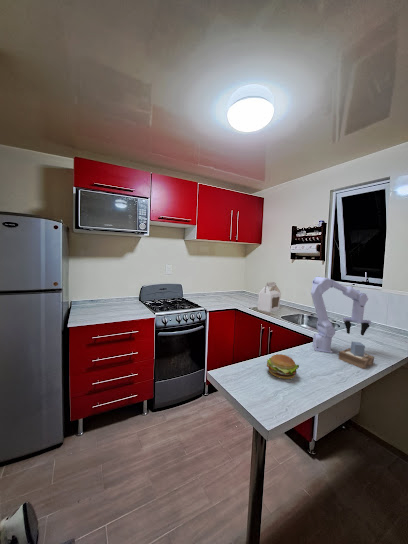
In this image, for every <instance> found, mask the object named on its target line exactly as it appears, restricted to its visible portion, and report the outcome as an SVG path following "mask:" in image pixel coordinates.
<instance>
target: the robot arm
mask: <svg viewBox="0 0 408 544" xmlns="http://www.w3.org/2000/svg"><path fill="white" fill-rule="evenodd" d="M311 284H312V285H311V292H310V296H311V298H312V302H313V305H314V309H315V313H316V316H317V321H316V330H317V331H318V333H314V334H313V338H312V339H313V340H312V347H313V349H314V350H315V351H316V352H324V353H329V354H333V353H334V352H333V351H332V349H331V348H332V339H333V337H334V336H335V334H336V329H335V327H334V326H333V323H332V322H331V321H330V319H329V317H328V316H329V315H328V313H327V310H326V305H325V302H324V297H323V294H324V293H326V292H327V291H328V290H329V289H330V288H331V289H332V288H333V289H336V290H337V291H340V292H342V295H343V296H346V297H347V298H350V299H351V300H352V301H353V302H352V310H351V317H345V316H344V317H342V321H343V323H344V325H345V329H346V334H348V335H350V332H351V326H352V323H359V324H360V326H361V328H360V335H361V336H365V333H366V331H367V330H368V329H369V328H370V325H371V324H372V320H369V319H364V312H365V306H366V303H367V302H368V300H369V298H368V295H367V293H364V292H361V291H360V290H359V289H355V288H354V287H353V286H351V285H350V286H349V285H347V286H344V285H342V284H341V283H339V282H337V281H336V280H334V279H331V278H329V277H323V276H315V277H314V278H313V280H312V281H311Z"/></svg>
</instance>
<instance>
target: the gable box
mask: <svg viewBox="0 0 408 544" xmlns="http://www.w3.org/2000/svg"><path fill="white" fill-rule="evenodd" d="M281 295H282V293H281V291H280V289H279V287H278V286H277V283H276V282H275V281H270V282H267V283H266V285H264V286H263V287H262V288H261V290H260V291H259V292H258V299H257V301H258V302H257V310H259V311H262V312H266V313H273V312H275V311H278V310H280V307H281V306H280V305H281Z"/></svg>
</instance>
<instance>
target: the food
mask: <svg viewBox="0 0 408 544" xmlns="http://www.w3.org/2000/svg"><path fill="white" fill-rule="evenodd" d="M266 362H267V363H266V367H267V368H268V371H269V373H270V374H271V375H272V376H274V377H277V378H278V379H283V380H292V379H294V378H295V376H296V374H297V370H298V369H299V368H300V364H296V362H295V361H294V360H293V358H292V357H290V356H288V355H286V354H278V353H277V354H273V355H272V356H271V357H269V358H268V359H266Z"/></svg>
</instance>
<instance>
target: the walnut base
mask: <svg viewBox="0 0 408 544" xmlns="http://www.w3.org/2000/svg"><path fill="white" fill-rule="evenodd" d="M350 351H351V347H349V348H346V349H343V350H341V351H339V353H338V360H341V361H343V362H345V363H348V364H349V365H352V366H355V367H358V368H359V369H362V370H364V369H366V368H368V367H370V366H372V365H374V359H375V356H373V355H370V354H367V353H365V352H364V357H362V356H354V355H353V354H352V353H351V352H350Z"/></svg>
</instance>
